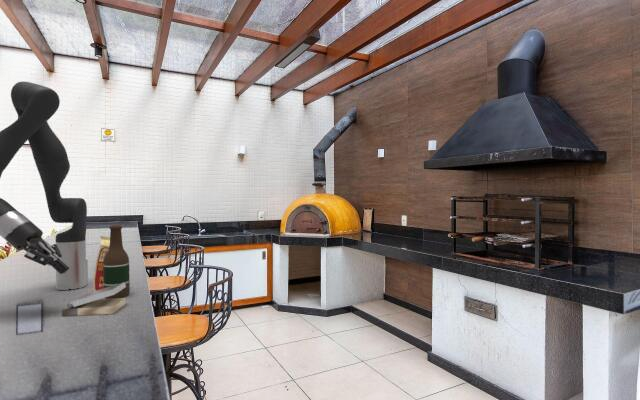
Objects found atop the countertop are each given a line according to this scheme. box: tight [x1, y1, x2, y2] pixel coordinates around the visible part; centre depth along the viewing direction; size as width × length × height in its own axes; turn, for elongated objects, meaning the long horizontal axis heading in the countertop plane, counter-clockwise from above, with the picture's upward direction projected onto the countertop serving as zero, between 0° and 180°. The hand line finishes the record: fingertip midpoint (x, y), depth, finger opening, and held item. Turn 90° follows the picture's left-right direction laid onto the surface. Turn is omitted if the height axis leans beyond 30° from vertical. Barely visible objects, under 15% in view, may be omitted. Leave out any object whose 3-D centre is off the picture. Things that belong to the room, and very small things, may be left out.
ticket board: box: [61, 297, 126, 317], centre depth 107 cm, size 14×9×2 cm, turn 99°
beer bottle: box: [103, 224, 131, 299], centre depth 122 cm, size 8×8×24 cm
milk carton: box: [92, 235, 124, 292], centre depth 129 cm, size 9×9×20 cm
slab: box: [66, 282, 126, 307], centre depth 108 cm, size 2×9×13 cm
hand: (65, 271), depth 105 cm, fingers closed
